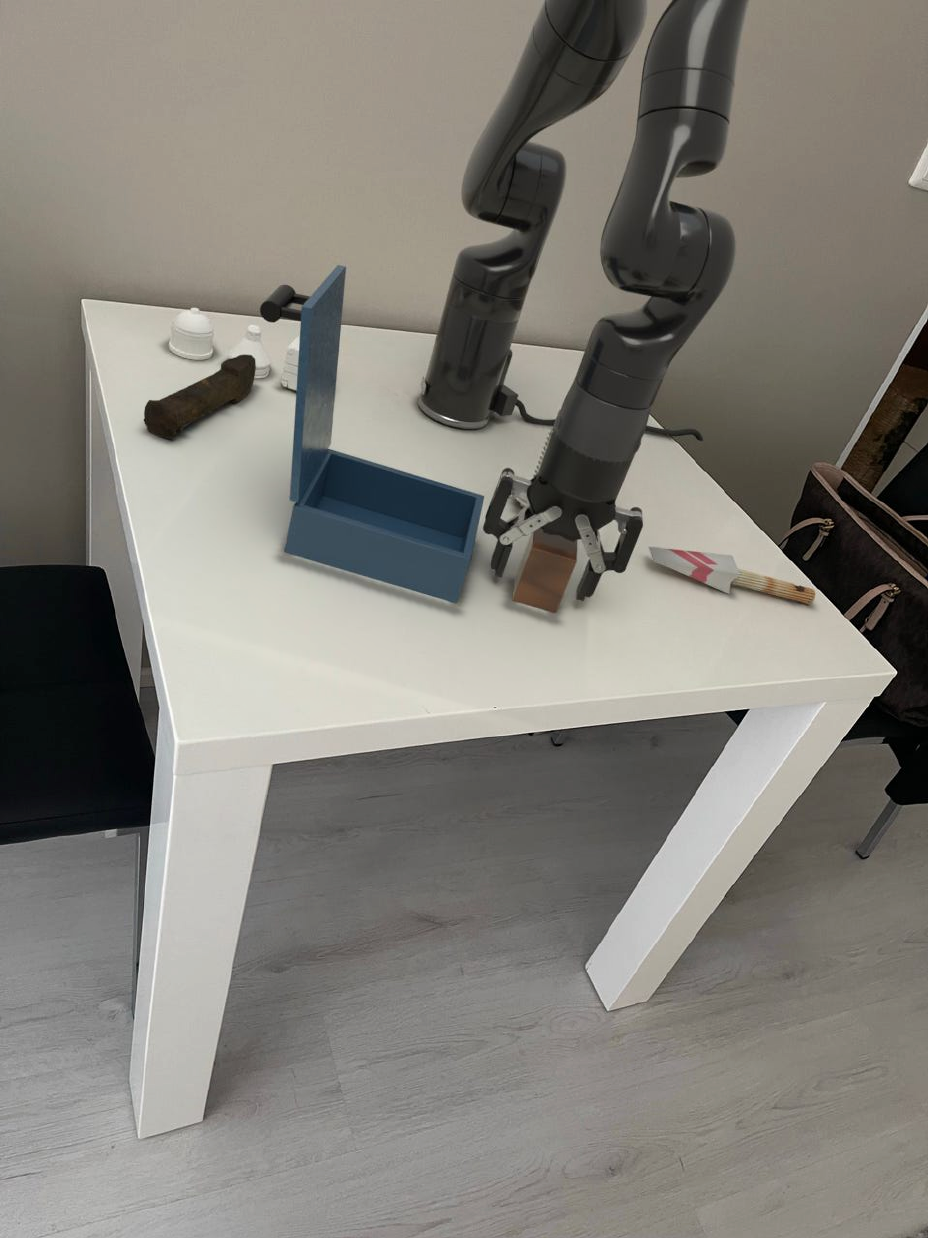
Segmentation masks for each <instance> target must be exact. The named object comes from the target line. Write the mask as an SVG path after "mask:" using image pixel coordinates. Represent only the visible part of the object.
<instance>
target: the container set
mask: <svg viewBox="0 0 928 1238" xmlns="http://www.w3.org/2000/svg"><path fill="white" fill-rule="evenodd" d="M262 331H263V330H262V329H261V327H260V326H258V325H256V324H249V325H248V326H246V331H245V336H244V337H243V338H242V339H241V340H240V341H239V342H238V343H237V344H236V345H235V346H234V347H233V348H232V349H231V350H230V351H229V353H228V359H232V358H234V357H237V356H239V355H245V354H246V355H252V356H253V357H254V358H255V362H256V370H255V377H254V379H263V378H266V377H267V376H268V375H269V374H270V368H271V367H270V366H271V358H270V356H269V354H268V352H267V350H266V348H265V347H264V344H263V342H262V340H261V338H262V333H263V332H262ZM214 335H215V330H214V325H213V323H212V321H211V320H210V319H209V317H208V316H207V315H206V314H204V313H203V312H201V311H200V309H199V308H197V307H191V308H190V309H188V310H187V309H186V310H184V311H182V312H180V313H179V314H178V315H176V316H175V318H174V319H173V321H172V324H171V335H170V339H169V342H168V349H169V351H170V352H172V353H173V354H174V355H176V356H178V357H181V358H184V359H188V360H195V361H202V360H204V361H205V360H209V359H211V358H212V357H213V353H214V349H213V340H214ZM299 342H300V334H299V335H298V336H297V337H295V339H294V340H293V341H292V342H291V343H290V344H289V345H288V346H287V349H286V353H285V359H284V364H283V365H284V366H283V371H282V377H281V385H282V386H283V388H288V389H290V390H293V391H296V390H297V374H298V358H299Z"/></svg>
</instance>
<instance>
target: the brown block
mask: <svg viewBox="0 0 928 1238" xmlns="http://www.w3.org/2000/svg"><path fill="white" fill-rule="evenodd" d="M577 562H578V540H575V542H573V541H570V540H567V539H565V538H563V537H562V536H560V535H550V534H547V533H543V530H542V529H541V528H539V529H537V530H536V531H534V532H532V533H531V534H530V536H529V538H528V541H527V544H526V547H525V549H524V552H523V554H522V558H521V560H520V563H519V566H518V568H517V571H516V574H515V576H514V583H513V590H512V591H513V592H512V599H511V601H513V602H515V603H519V604H521V605H525V606H529V607H532V608H535V609H538V610H543V611H545V612H549V613H552V614H556V613H557V610H558V608H559V606H560V604H561V601H562V599H563V596H564V594H565V591H566V589H567V586H568V584H569V581H570V578H571V576H572V574H573V572H574V569H575V567H576V564H577Z"/></svg>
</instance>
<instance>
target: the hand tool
mask: <svg viewBox="0 0 928 1238" xmlns="http://www.w3.org/2000/svg"><path fill="white" fill-rule="evenodd" d="M255 370H256V362H255V358H254V357H253V356H252V355H246V354H245V355H239V356H237V357H234V358H232V359H229V358H227V359H225V360H223V362H221V364H220V369H219V370H218V371H215V372H214V373H213V374H211V375H208V376H206V377H205V378H202V379H201V380H199V381H196V382H194V383H192V384H190V385H188V386H186V387H184V388H182V389H180V390H177V391H176V392H173V393H171V394H169V395H168V396H165V397H162V398H161V399H153V400H152V399H149V400H147V402H146V404H145V406H144V412H143V416H144V418H143V422H144V424H145V426H146V429H147V431H148V432H150V433H152V434H154V435H156V436H158V437H161V438H164V439H173V438H175V436H176V434H181V432H182V431H183V429H184V428H185V427H186V426H187V425H189V424H191V423H193V422H194V421H196V420H198V419H200V418H201V417H204V416H207V415H209V414H210V413H211V412H213V411H215V410H217V409H218V408H219V407H221V406H223V405H225V404H227V403H232V404H237V403H239V402H240V401H241V400H243V399H244V398H245V396H246V395H247V394H248V393H249V392H250V391H251V390H252V387H253V386H254V383H255V378H254V377H255Z"/></svg>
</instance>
